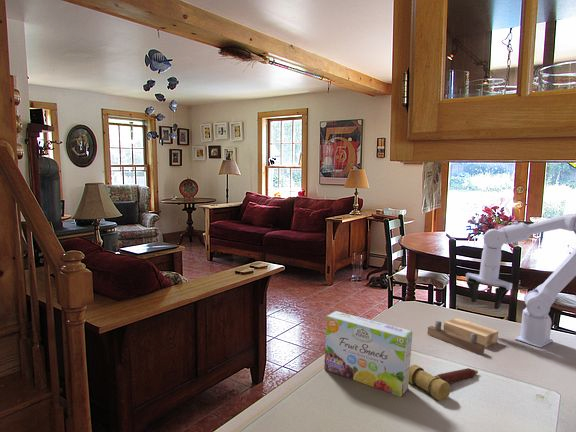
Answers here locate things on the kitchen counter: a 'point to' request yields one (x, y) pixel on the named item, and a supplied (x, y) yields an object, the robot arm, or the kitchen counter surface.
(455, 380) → the gavel
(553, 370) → the kitchen counter surface
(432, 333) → the bar
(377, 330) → the snack box
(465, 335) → the wooden block
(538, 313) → the robot arm
